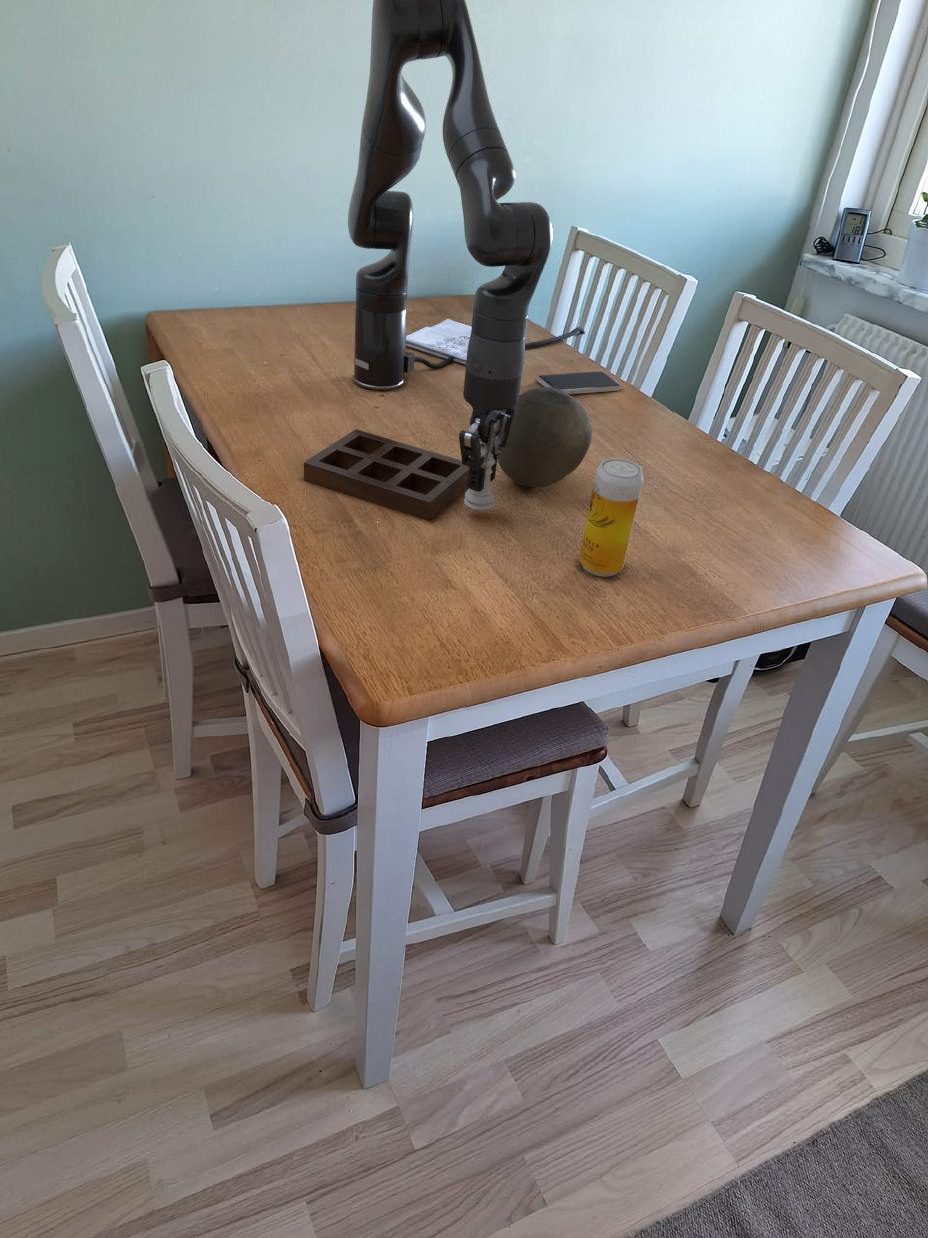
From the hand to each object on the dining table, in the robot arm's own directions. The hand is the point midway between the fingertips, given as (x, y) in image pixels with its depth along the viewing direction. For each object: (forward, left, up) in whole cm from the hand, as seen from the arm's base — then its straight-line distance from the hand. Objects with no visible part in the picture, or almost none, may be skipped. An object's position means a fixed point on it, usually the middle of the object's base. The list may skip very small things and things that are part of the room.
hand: (481, 483), depth 127 cm
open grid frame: (-2, -16, -5) cm, 17 cm away
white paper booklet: (-65, -35, -5) cm, 74 cm away
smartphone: (-59, -6, -5) cm, 60 cm away
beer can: (+3, +20, -5) cm, 21 cm away
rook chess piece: (0, 0, -4) cm, 4 cm away
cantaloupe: (-15, +3, -5) cm, 16 cm away
